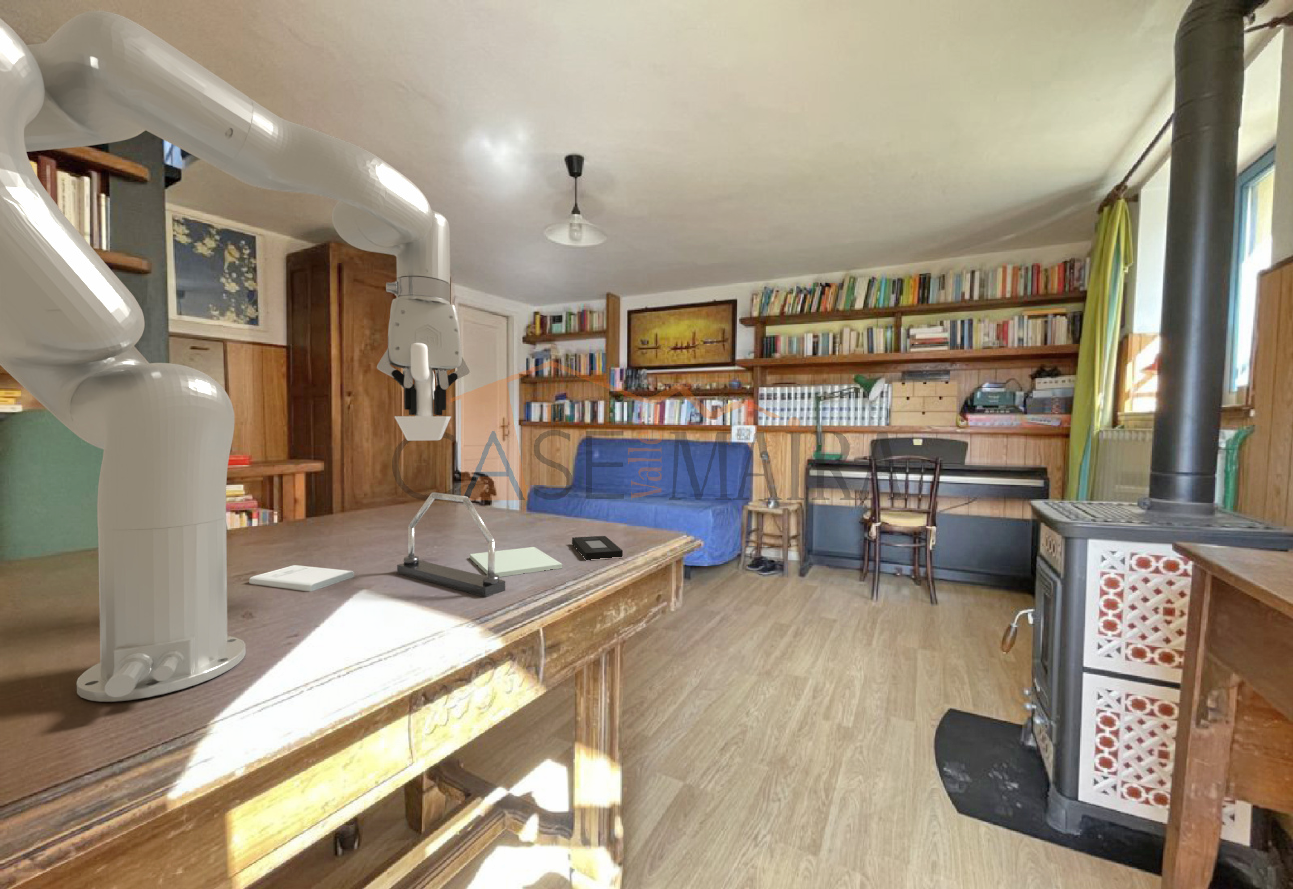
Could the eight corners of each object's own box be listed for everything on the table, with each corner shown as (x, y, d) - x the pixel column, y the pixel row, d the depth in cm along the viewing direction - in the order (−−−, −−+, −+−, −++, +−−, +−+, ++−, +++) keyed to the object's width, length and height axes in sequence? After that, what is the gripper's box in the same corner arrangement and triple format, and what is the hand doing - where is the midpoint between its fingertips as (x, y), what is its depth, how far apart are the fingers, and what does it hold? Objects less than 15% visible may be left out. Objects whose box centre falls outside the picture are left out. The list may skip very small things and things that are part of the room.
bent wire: (506, 590, 80) (507, 499, 80) (486, 597, 77) (487, 502, 76) (417, 567, 92) (417, 487, 91) (396, 573, 88) (396, 490, 88)
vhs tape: (604, 544, 115) (605, 535, 115) (622, 560, 102) (623, 550, 101) (572, 546, 113) (572, 537, 113) (585, 563, 99) (586, 552, 99)
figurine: (452, 438, 85) (450, 347, 84) (446, 441, 76) (444, 339, 75) (404, 438, 83) (402, 345, 82) (393, 441, 74) (390, 337, 73)
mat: (562, 568, 93) (562, 563, 93) (490, 578, 86) (490, 573, 86) (533, 550, 106) (534, 546, 106) (469, 558, 99) (469, 554, 99)
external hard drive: (310, 595, 78) (248, 586, 81) (354, 579, 86) (296, 572, 89) (310, 584, 78) (248, 576, 81) (354, 570, 86) (296, 563, 89)
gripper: (364, 281, 71) (367, 414, 72) (484, 297, 79) (485, 415, 80) (361, 292, 77) (363, 414, 78) (472, 306, 86) (473, 415, 87)
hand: (425, 413), depth 79 cm, fingers closed on figurine, 3 cm apart
